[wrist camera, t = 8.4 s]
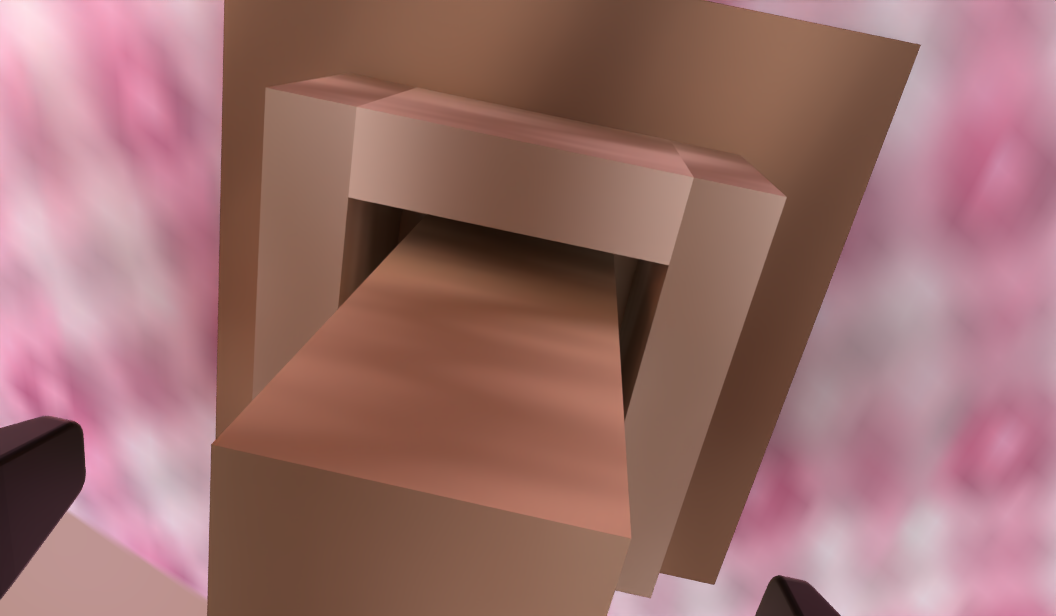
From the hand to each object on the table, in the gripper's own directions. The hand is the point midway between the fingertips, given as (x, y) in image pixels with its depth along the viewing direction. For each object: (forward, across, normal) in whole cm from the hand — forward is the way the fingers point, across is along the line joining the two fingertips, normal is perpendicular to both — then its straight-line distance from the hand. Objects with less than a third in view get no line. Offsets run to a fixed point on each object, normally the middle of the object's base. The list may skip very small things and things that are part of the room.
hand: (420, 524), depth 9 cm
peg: (+8, 0, 0) cm, 8 cm away
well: (+9, 0, 0) cm, 9 cm away
